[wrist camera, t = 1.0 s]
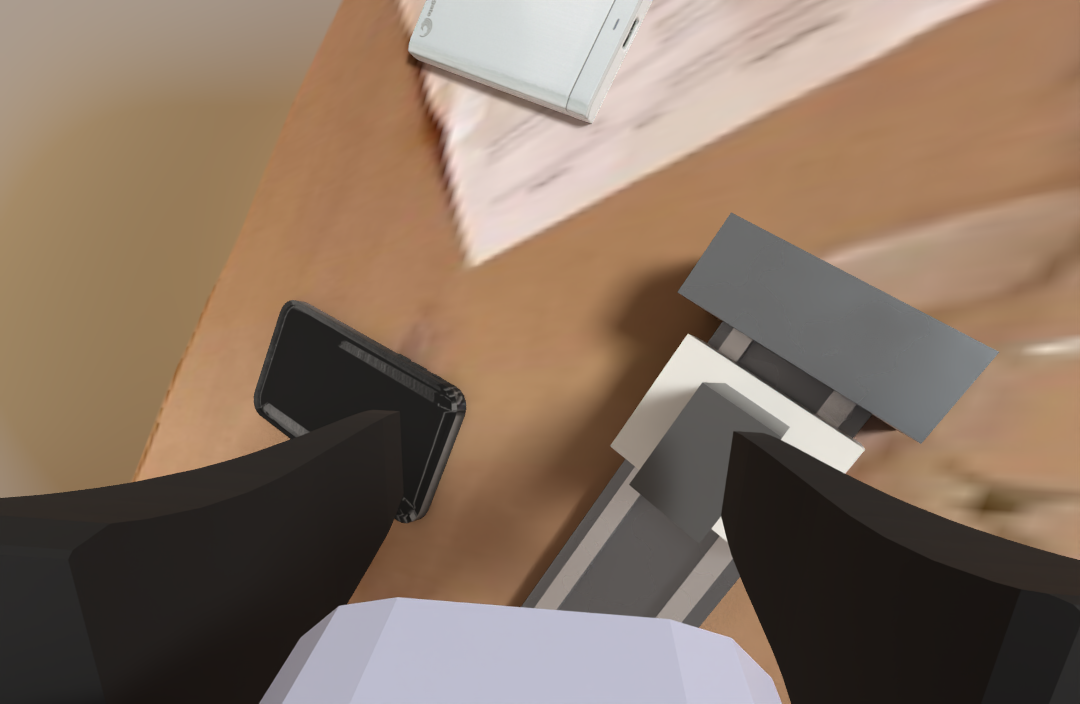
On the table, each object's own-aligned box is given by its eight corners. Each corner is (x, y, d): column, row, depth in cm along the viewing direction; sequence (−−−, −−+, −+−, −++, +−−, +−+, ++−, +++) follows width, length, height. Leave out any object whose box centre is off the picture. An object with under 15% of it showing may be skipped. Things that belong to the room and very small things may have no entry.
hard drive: (404, 49, 30) (582, 114, 24) (466, -103, 28) (672, -71, 23) (424, 65, 31) (596, 129, 26) (484, -79, 30) (681, -44, 24)
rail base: (955, 360, 18) (1011, 349, 13) (507, 897, 25) (422, 1036, 20) (749, 248, 22) (726, 202, 16) (402, 748, 28) (305, 832, 23)
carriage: (860, 443, 18) (877, 466, 13) (769, 554, 19) (749, 620, 14) (699, 338, 20) (657, 321, 15) (627, 441, 22) (564, 459, 16)
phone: (412, 531, 28) (249, 407, 34) (426, 526, 29) (265, 406, 35) (464, 393, 27) (285, 293, 33) (477, 393, 28) (301, 295, 34)
